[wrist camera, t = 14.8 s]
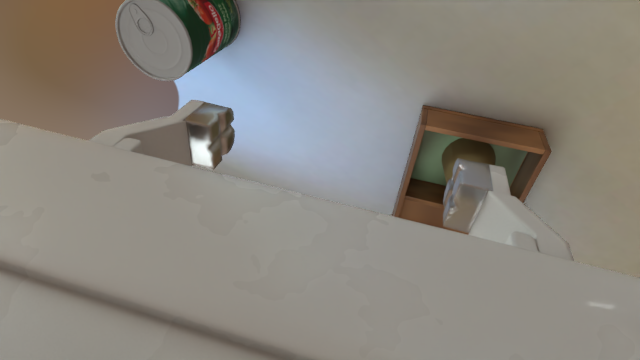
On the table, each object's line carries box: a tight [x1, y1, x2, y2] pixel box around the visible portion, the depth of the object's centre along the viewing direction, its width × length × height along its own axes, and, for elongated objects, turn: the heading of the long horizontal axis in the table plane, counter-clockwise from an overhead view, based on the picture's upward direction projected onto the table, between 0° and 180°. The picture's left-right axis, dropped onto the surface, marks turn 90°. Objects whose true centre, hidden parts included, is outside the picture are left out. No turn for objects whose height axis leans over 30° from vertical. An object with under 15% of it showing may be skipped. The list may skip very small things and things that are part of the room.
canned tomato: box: [116, 0, 240, 81], centre depth 41 cm, size 8×8×11 cm
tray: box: [392, 105, 551, 235], centre depth 48 cm, size 13×20×5 cm, turn 174°
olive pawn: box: [442, 138, 496, 209], centre depth 42 cm, size 6×6×11 cm
